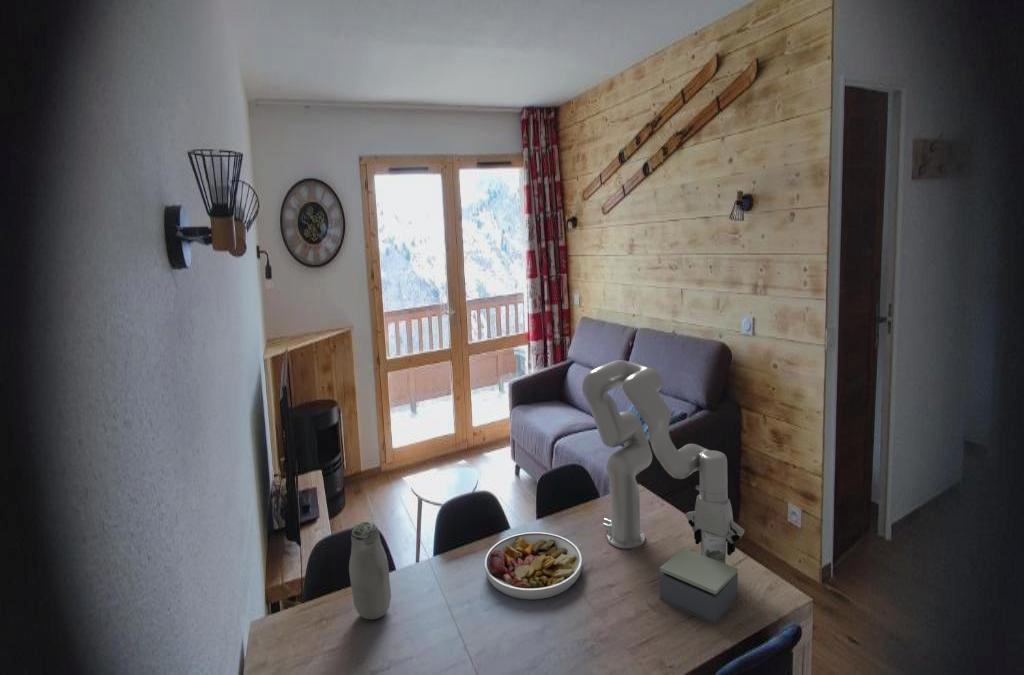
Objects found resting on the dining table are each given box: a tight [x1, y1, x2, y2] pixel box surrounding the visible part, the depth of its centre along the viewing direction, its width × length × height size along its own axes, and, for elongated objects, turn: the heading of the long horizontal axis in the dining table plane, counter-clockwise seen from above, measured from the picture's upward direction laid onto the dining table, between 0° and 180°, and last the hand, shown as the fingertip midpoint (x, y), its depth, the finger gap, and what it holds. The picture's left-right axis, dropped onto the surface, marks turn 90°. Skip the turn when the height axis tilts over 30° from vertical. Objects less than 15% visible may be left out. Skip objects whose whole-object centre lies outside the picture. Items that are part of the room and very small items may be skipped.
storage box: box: [659, 571, 739, 626], centre depth 153 cm, size 16×14×8 cm
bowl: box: [484, 531, 583, 600], centre depth 170 cm, size 30×30×8 cm
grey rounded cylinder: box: [348, 521, 392, 620], centre depth 153 cm, size 10×10×28 cm
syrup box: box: [700, 530, 727, 564], centre depth 163 cm, size 6×6×14 cm
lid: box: [659, 547, 739, 595], centre depth 152 cm, size 16×14×1 cm
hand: (714, 547), depth 162 cm, fingers open, 9 cm apart
